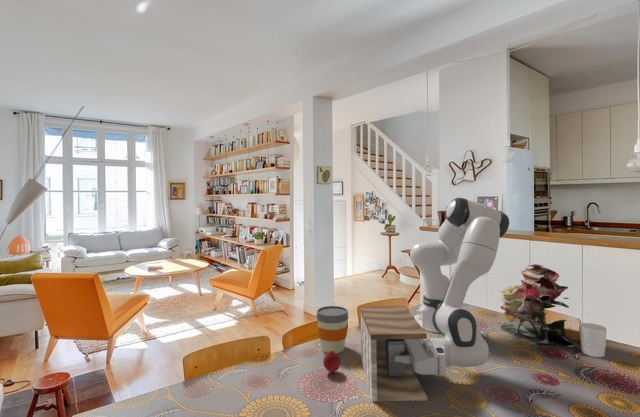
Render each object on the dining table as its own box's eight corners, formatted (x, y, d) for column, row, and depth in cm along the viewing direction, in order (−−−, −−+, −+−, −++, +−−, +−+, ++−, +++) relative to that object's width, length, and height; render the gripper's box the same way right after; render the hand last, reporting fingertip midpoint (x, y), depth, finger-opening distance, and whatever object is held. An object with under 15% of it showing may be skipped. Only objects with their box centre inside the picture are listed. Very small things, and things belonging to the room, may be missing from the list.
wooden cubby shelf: (361, 359, 125) (360, 306, 125) (405, 359, 125) (404, 305, 125) (371, 401, 99) (370, 334, 99) (427, 400, 99) (426, 333, 99)
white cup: (611, 359, 123) (611, 331, 122) (586, 357, 124) (586, 330, 124) (598, 349, 130) (598, 323, 130) (575, 348, 132) (575, 322, 132)
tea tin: (385, 368, 113) (385, 335, 113) (401, 368, 113) (400, 334, 113) (388, 376, 108) (388, 341, 107) (405, 376, 108) (404, 341, 107)
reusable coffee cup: (326, 358, 127) (325, 318, 127) (311, 346, 138) (310, 308, 138) (355, 351, 133) (354, 312, 132) (338, 339, 144) (337, 304, 144)
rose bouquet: (547, 323, 159) (547, 258, 158) (589, 350, 130) (589, 271, 129) (489, 321, 162) (489, 258, 161) (517, 348, 133) (517, 271, 132)
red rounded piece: (342, 369, 118) (342, 346, 118) (337, 378, 113) (337, 354, 113) (326, 367, 120) (326, 344, 120) (321, 375, 115) (320, 351, 115)
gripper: (425, 330, 120) (385, 331, 120) (446, 357, 100) (399, 357, 100) (425, 348, 121) (386, 349, 120) (447, 378, 100) (399, 379, 100)
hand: (392, 353), depth 110 cm, fingers closed on tea tin, 5 cm apart
